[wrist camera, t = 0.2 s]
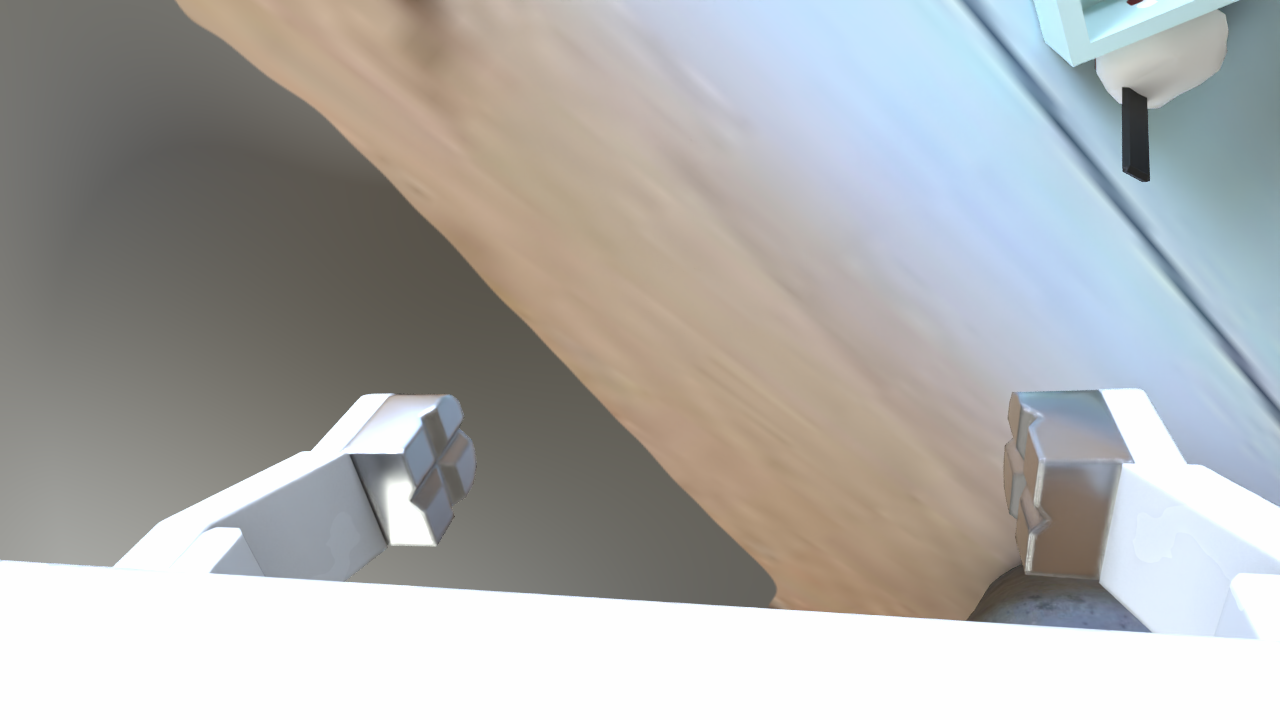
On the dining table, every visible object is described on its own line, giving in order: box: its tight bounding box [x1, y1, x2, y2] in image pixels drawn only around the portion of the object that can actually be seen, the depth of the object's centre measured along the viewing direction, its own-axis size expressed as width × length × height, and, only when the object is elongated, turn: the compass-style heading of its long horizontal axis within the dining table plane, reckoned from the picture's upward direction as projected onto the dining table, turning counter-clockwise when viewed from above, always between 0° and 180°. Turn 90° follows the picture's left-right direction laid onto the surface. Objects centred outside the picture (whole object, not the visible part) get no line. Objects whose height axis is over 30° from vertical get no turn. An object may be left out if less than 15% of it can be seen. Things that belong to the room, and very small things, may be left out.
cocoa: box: [1095, 0, 1229, 182], centre depth 44 cm, size 10×6×12 cm, turn 134°
